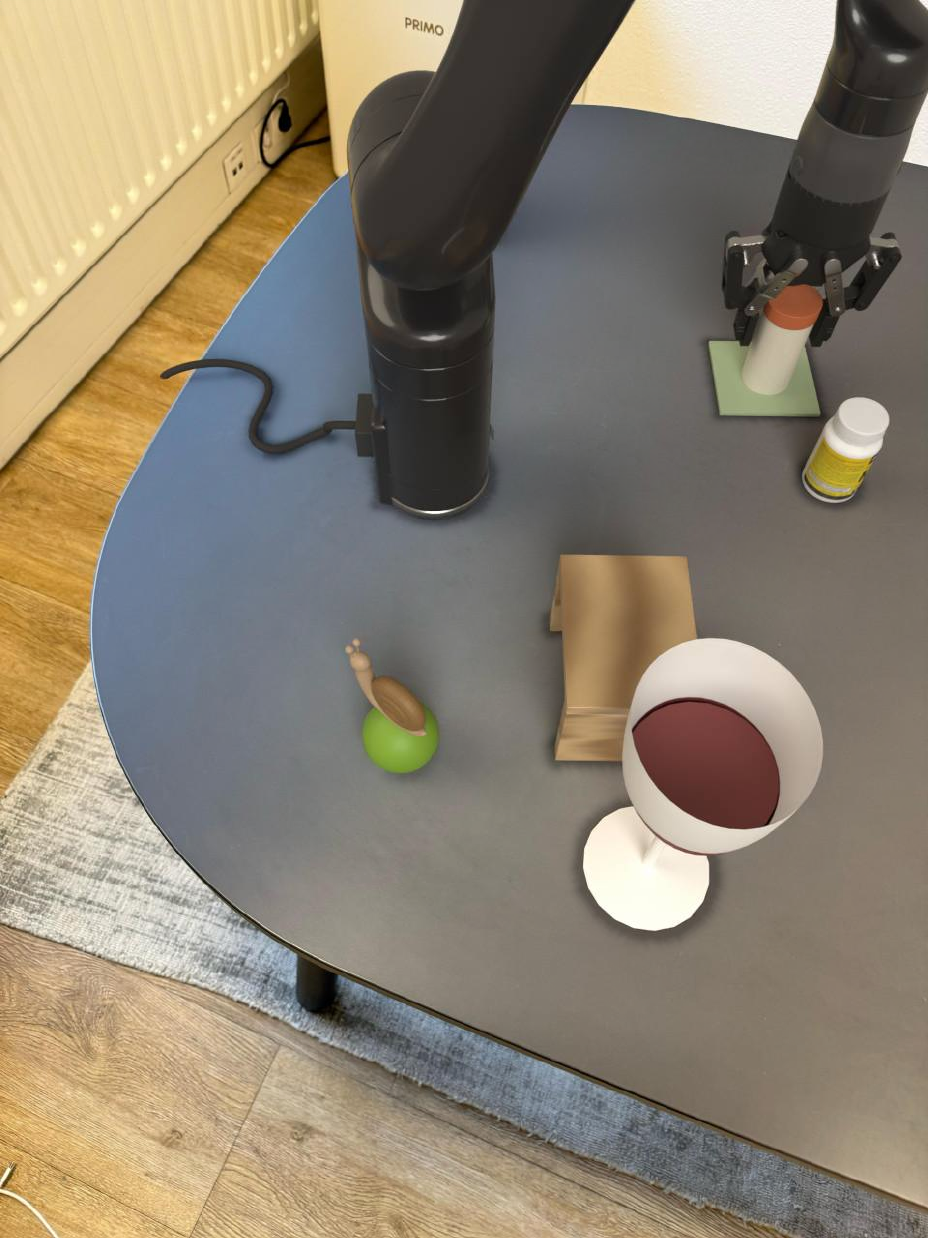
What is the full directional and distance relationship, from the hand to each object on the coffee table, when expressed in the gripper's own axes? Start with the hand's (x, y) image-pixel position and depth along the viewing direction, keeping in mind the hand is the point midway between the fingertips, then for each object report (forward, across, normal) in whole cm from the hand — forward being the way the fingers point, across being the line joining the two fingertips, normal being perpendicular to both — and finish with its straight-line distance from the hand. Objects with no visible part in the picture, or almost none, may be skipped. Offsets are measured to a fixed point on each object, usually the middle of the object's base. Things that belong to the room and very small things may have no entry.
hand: (778, 339), depth 85 cm
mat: (+5, 0, 0) cm, 5 cm away
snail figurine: (+5, +32, +37) cm, 49 cm away
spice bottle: (+5, 0, 0) cm, 5 cm away
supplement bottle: (+5, -4, +12) cm, 14 cm away
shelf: (+5, +16, +32) cm, 36 cm away
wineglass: (+5, +15, +46) cm, 48 cm away
